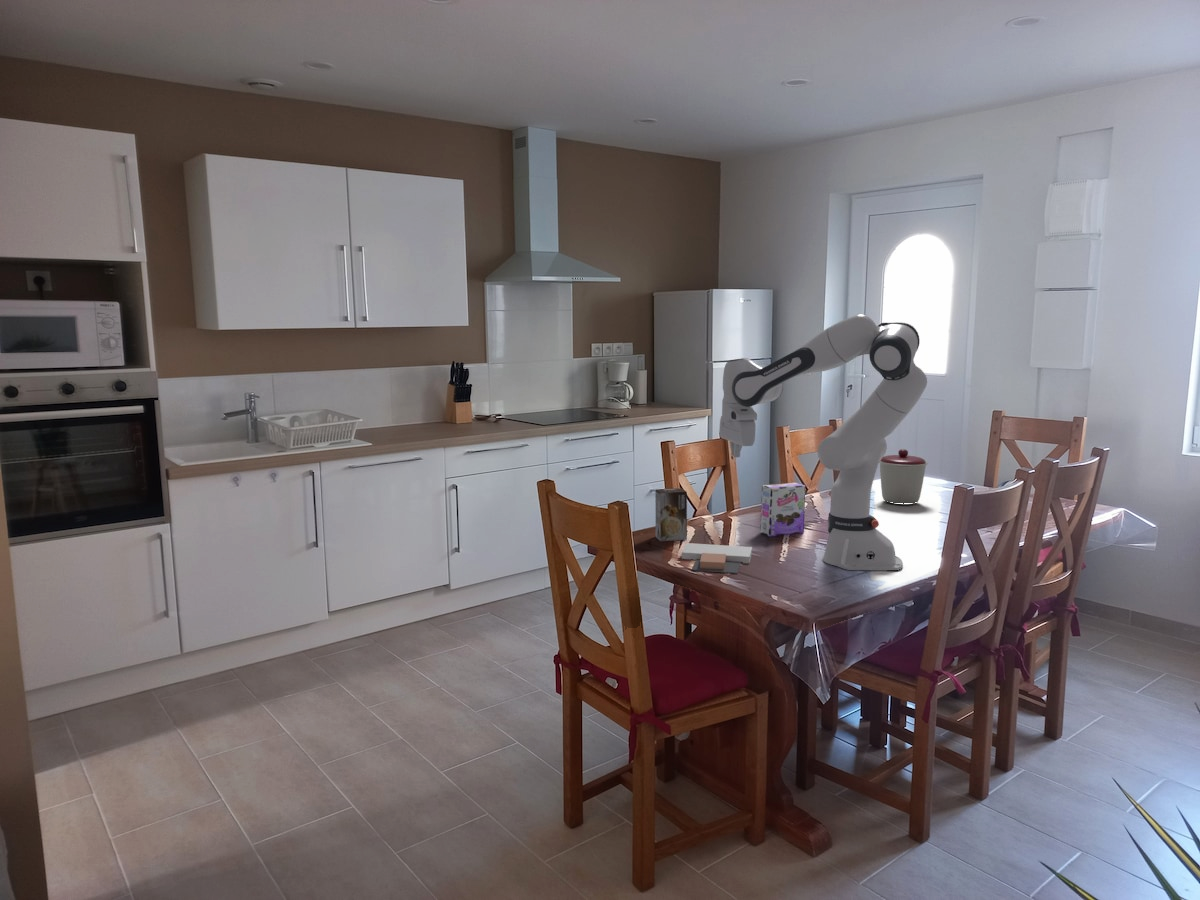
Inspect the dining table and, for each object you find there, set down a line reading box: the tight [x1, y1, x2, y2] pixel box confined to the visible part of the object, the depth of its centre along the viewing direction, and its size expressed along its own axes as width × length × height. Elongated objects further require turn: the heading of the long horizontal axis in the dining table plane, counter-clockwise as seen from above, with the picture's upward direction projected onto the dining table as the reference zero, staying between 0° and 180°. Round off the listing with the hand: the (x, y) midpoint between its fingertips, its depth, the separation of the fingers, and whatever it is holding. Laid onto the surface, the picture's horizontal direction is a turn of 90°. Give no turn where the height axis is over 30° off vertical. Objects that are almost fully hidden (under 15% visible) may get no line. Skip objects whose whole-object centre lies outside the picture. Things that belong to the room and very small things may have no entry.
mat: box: [690, 559, 742, 575], centre depth 247 cm, size 13×11×1 cm
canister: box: [879, 448, 929, 504], centre depth 331 cm, size 18×18×21 cm
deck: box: [681, 542, 753, 564], centre depth 258 cm, size 20×11×2 cm, turn 76°
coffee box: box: [654, 487, 688, 542], centre depth 278 cm, size 9×6×16 cm
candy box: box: [759, 482, 806, 537], centre depth 285 cm, size 14×6×16 cm, turn 112°
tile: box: [700, 553, 726, 569], centre depth 248 cm, size 7×9×2 cm
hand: (735, 456), depth 262 cm, fingers closed
